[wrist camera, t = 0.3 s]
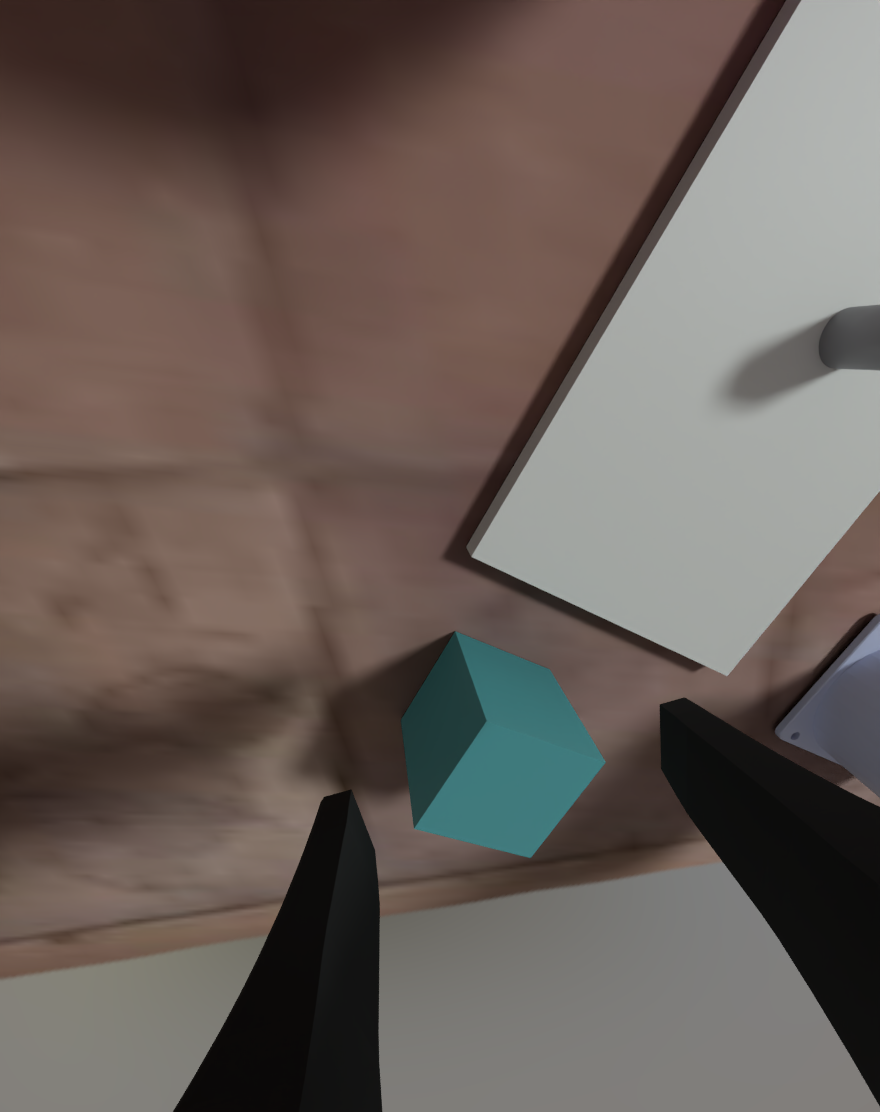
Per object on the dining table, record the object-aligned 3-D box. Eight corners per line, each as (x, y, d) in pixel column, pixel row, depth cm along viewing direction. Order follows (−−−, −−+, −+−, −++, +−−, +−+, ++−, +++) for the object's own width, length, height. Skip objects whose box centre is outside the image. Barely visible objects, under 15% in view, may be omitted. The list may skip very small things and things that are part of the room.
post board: (1050, 244, 18) (1297, 208, 14) (712, 663, 24) (804, 743, 19) (813, -47, 14) (1054, -255, 9) (465, 547, 19) (502, 612, 15)
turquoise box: (549, 669, 22) (605, 762, 17) (493, 750, 24) (530, 858, 19) (455, 631, 21) (486, 720, 16) (400, 720, 22) (414, 828, 17)
